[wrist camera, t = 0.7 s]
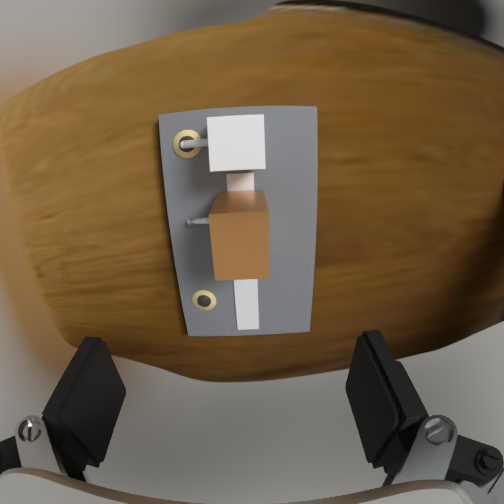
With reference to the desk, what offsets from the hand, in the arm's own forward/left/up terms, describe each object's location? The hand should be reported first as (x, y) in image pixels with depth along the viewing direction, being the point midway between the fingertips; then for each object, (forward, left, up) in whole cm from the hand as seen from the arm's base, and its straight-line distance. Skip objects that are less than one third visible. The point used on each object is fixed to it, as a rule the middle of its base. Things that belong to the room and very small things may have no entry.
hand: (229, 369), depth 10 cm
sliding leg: (+1, 0, -18) cm, 18 cm away
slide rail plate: (0, +2, -20) cm, 21 cm away
